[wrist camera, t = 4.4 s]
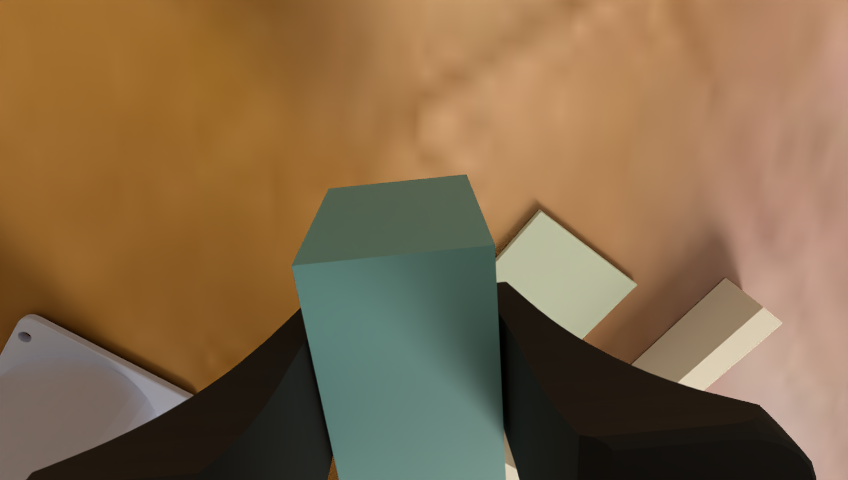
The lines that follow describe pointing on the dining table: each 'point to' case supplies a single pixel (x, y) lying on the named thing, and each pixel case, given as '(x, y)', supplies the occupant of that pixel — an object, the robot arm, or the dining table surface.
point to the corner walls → (701, 343)
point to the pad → (561, 275)
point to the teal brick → (405, 330)
